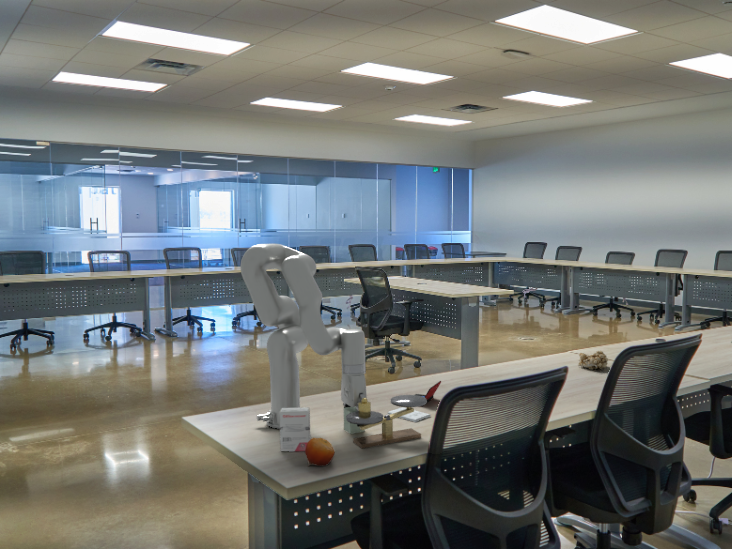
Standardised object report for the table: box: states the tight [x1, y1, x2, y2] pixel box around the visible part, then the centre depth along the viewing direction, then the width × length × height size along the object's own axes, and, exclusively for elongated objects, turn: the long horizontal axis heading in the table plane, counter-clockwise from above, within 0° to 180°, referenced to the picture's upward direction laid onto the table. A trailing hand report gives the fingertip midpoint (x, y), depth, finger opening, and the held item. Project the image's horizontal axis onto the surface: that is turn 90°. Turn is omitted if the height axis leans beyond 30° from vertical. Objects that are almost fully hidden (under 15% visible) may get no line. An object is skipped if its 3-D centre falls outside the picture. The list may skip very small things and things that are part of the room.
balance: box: [346, 394, 428, 449], centre depth 182 cm, size 26×11×14 cm, turn 116°
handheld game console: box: [414, 380, 442, 403], centre depth 223 cm, size 12×11×7 cm
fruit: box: [304, 437, 336, 468], centre depth 164 cm, size 8×8×8 cm
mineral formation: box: [577, 350, 609, 371], centre depth 273 cm, size 8×13×15 cm
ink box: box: [279, 406, 312, 452], centre depth 176 cm, size 9×5×12 cm, turn 91°
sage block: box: [343, 406, 366, 435], centre depth 192 cm, size 5×5×7 cm
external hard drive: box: [387, 407, 432, 423], centre depth 207 cm, size 2×8×12 cm
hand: (355, 421), depth 192 cm, fingers open, 9 cm apart
